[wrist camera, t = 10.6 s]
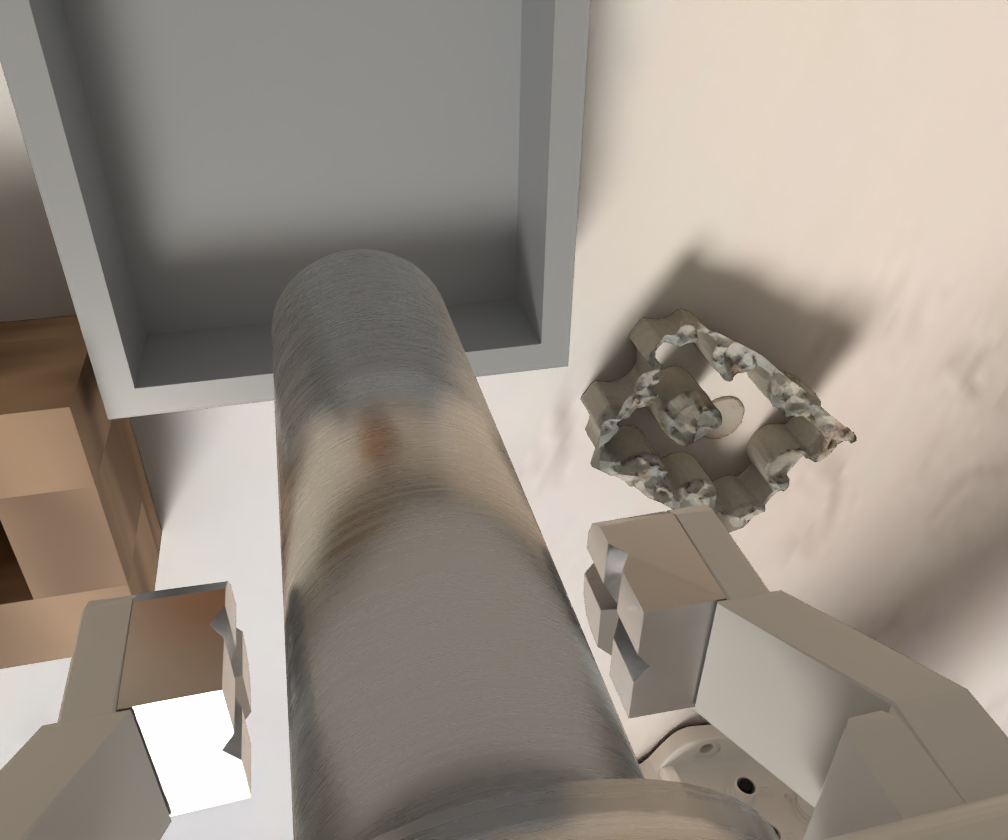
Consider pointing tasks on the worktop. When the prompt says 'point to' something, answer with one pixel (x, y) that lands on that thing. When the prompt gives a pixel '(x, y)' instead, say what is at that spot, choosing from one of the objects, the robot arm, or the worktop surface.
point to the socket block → (64, 494)
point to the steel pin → (434, 598)
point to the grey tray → (298, 171)
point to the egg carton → (704, 423)
